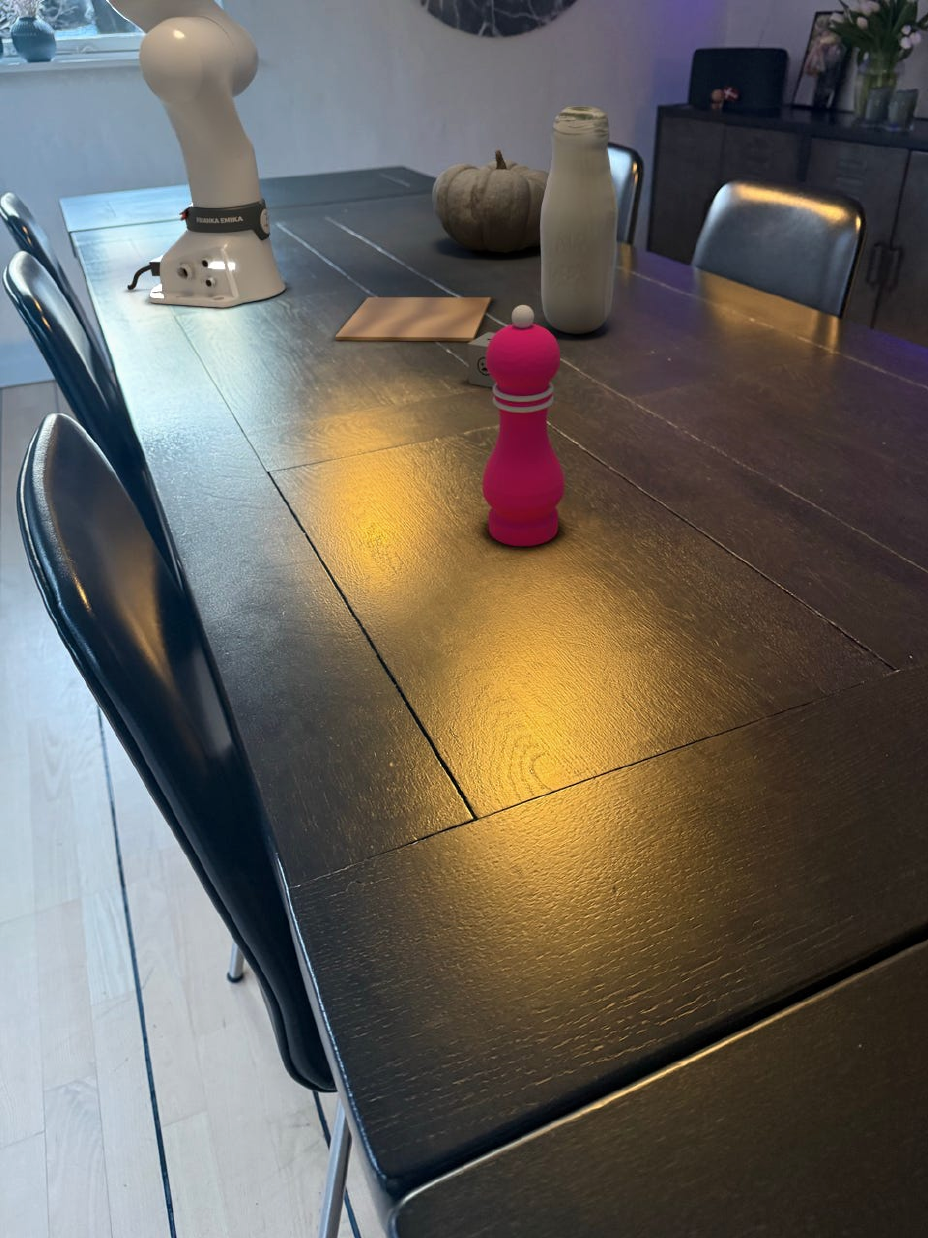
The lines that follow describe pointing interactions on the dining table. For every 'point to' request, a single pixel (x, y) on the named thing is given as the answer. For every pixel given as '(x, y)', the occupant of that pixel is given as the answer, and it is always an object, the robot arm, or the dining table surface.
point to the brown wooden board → (416, 319)
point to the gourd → (491, 205)
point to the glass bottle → (578, 223)
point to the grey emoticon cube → (479, 361)
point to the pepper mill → (523, 434)
